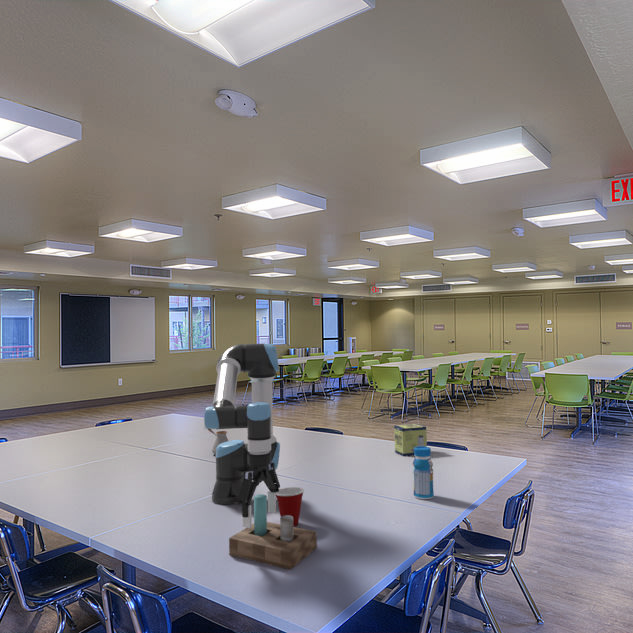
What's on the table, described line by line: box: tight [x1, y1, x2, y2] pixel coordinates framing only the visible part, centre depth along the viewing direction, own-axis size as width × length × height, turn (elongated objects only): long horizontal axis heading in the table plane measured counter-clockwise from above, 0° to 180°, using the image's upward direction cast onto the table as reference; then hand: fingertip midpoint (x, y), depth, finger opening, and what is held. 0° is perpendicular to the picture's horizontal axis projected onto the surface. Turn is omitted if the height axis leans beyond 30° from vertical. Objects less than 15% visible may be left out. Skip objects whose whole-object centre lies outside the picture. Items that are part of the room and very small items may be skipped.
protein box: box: [393, 423, 428, 457], centre depth 271 cm, size 10×16×16 cm
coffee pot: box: [207, 429, 229, 456], centre depth 280 cm, size 21×12×15 cm, turn 52°
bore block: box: [228, 515, 318, 571], centre depth 148 cm, size 16×22×11 cm
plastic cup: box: [276, 486, 305, 527], centre depth 170 cm, size 11×11×12 cm
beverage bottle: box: [412, 446, 435, 500], centre depth 196 cm, size 8×8×20 cm
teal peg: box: [253, 494, 268, 537], centre depth 150 cm, size 4×4×15 cm
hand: (260, 519), depth 150 cm, fingers open, 13 cm apart
